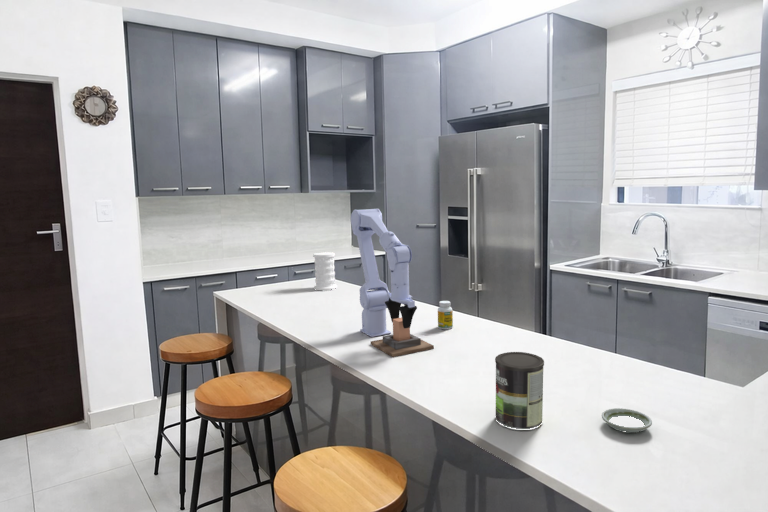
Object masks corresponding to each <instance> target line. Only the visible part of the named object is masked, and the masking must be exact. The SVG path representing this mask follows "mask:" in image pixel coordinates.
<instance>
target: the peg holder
mask: <svg viewBox="0 0 768 512" xmlns="http://www.w3.org/2000/svg"><path fill="white" fill-rule="evenodd" d="M370 345H371V346H373V347H374V348H376V349H378V350H380V352H383V353H385V354H386V355H388V356H390V357H391V358H395V357H400V356H404V355H405V356H406V355H411V354H416V353H420V352H424V351H429V350H433V349H434V347H435V346H434V345H433V344H431V343H429V342H427V341H425V340H423V339H422V338H420V337H418V336H415V335H414V334H411V333H410V339H408V340H403V341H396V340H394V339H393V334H386V335H384V336H383V335H382V339H376V340H372V341H371V340H370Z"/></svg>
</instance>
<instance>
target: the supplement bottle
mask: <svg viewBox="0 0 768 512" xmlns="http://www.w3.org/2000/svg"><path fill="white" fill-rule="evenodd" d="M453 318H454V317H453V308H452V306H451V301H450V300H440V301H439V307H438V308H437V327H438V329H440V330H451V329H453V328H454V325H453V324H454V323H453V321H454V319H453Z"/></svg>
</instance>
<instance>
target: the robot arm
mask: <svg viewBox="0 0 768 512" xmlns="http://www.w3.org/2000/svg"><path fill="white" fill-rule="evenodd" d="M350 224H351V229H352V233H353V235H354V236H356V239H357V244H358V250H359V254H360V260H361V265H362V269H363V270H362V271H363V276H364V280H365V282H364V283H363V284H362V285H361V286H360V288H359V304H360V305H361V308H362V311H361V328H360V329H359V331H360V332H362V333H363V334H365V335H367V336H368V337H370V338H373V337H378V336H379V337H380V336H383V335H384V336H386V335H392V331H389V330H388V329H387V310H388V312H389V316H390V320H391V323H392V324H393V319H396V318H400V315H401V318H402V321H403V327H404V328H410V329H411V325H412V321H413V317H414V315H415V312H416V310H417V309H418V306H417V305H416V303H415V301H416V300H414V299H413V296H412V295H411V294H410V277H409V276H410V274H409V273H410V271H409V270H410V267H409V265H410V263H411V262H412V260H413V251H412V248H411V247H410V245H408V244H404V243H402V242H401V241H400V240H399V239H400V238H398V237H397V235H396V234H395V233H394V231H389V230H388V228H387V226H386V225H385V223H384V221H383V213H382V211H381V210H380V208H370V209H369V208H368V209H366V208H365V209H353V210H352V212H351V214H350ZM374 234H376V236H378V237H379V241H378V242H379V244H380V246H381V247H382V248H383V250H384V251H385V252H386V260H387V263H388V269H389V271H390V291H389V288H388V285H387V283H385V282H384V281H382V280H381V279H380V275H379V270H378V269H379V268H378V264H377V259H376V254H375V248H374V244H373V239H372V236H373V235H374Z"/></svg>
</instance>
